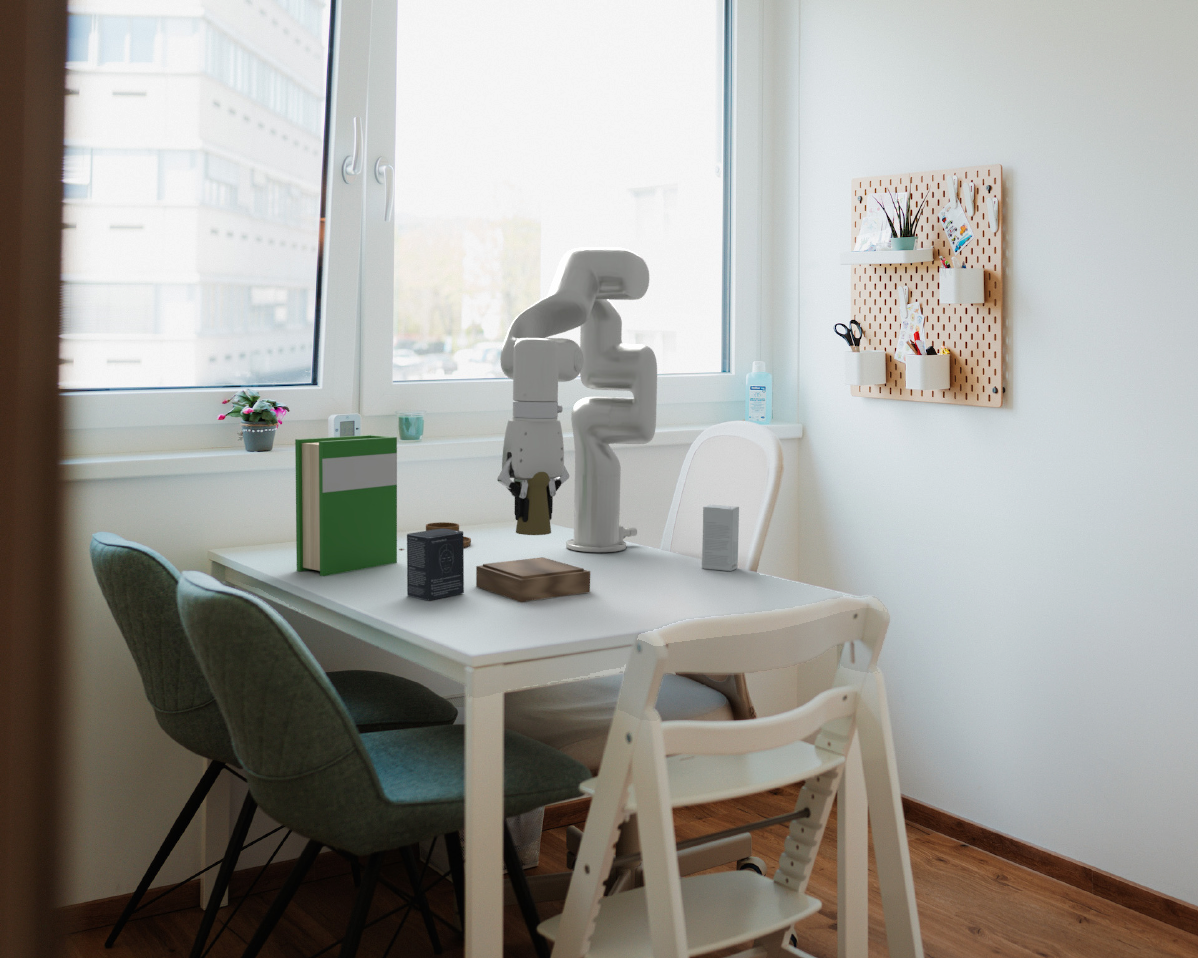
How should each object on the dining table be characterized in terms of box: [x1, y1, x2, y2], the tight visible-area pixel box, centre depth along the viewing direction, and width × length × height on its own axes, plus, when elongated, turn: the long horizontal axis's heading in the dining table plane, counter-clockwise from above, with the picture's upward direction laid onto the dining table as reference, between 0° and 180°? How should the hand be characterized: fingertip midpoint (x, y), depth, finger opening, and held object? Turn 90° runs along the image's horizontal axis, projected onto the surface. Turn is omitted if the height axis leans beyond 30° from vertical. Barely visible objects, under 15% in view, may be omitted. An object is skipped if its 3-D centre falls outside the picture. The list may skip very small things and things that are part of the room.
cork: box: [515, 472, 552, 536], centre depth 183 cm, size 6×6×11 cm
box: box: [406, 528, 465, 601], centre depth 179 cm, size 8×6×11 cm
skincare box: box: [701, 504, 740, 572], centre depth 207 cm, size 6×4×12 cm
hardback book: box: [294, 434, 398, 577], centre depth 201 cm, size 18×7×24 cm, turn 144°
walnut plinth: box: [475, 557, 591, 603], centre depth 185 cm, size 14×14×4 cm
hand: (533, 518), depth 184 cm, fingers closed on cork, 4 cm apart
